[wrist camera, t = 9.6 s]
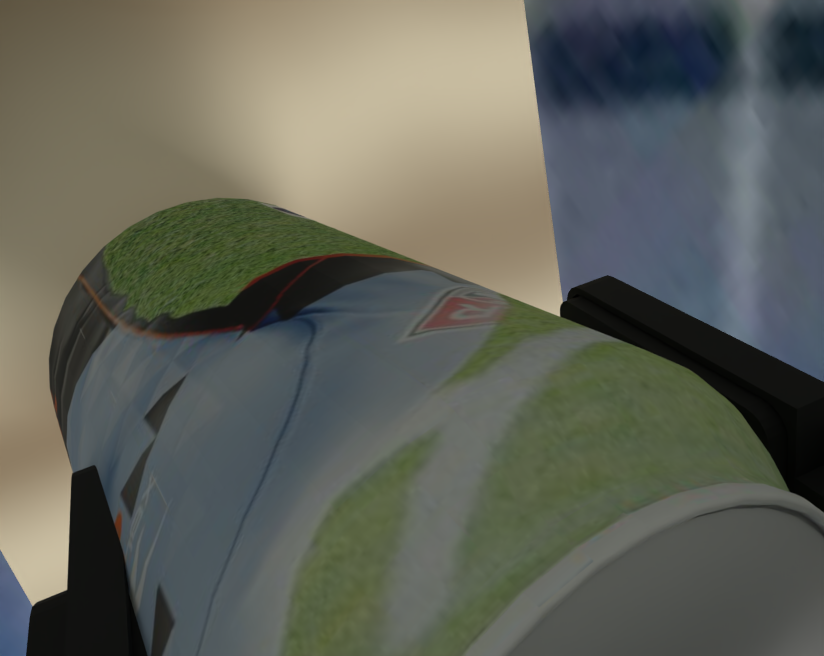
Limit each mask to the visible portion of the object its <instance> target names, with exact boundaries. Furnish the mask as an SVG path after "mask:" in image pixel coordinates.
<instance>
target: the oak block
mask: <svg viewBox="0 0 824 656" xmlns="http://www.w3.org/2000/svg"><path fill="white" fill-rule="evenodd" d="M213 198H235V199H249V200H254V201H259V202H263V203H268V204H272V205H276V206H278V207H281V208H283V209H286V210H288V211H291V212H294V213H296V214H299V215H301V216H304V217H306V218H309V219H311V220H314V221H317V222H319V223H322V224H324V225H327V226H329V227H332V228H335V229H337V230H340V231H342V232H345V233H347V234H350V235H352V236H355V237H358V238H360V239H363V240H365V241H368V242H370V243H373V244H375V245H378V246H381V247H383V248H386V249H388V250H391V251H393V252H396V253H398V254H401V255H404V256H406V257H409V258H411V259H414V260H416V261H419V262H421V263H424V264H427V265H429V266H432V267H434V268H437V269H439V270H442V271H444V272H447V273H450V274H452V275H455V276H457V277H460V278H462V279H465V280H467V281H470V282H473V283H475V284H478V285H480V286H483V287H485V288H488V289H490V290H493V291H496V292H498V293H501V294H503V295H506V296H508V297H511V298H514V299H516V300H519V301H521V302H524V303H526V304H529V305H531V306H534V307H537V308H539V309H542V310H544V311H547V312H549V313H552V314H554V315H557V316H560V306H561V304H562V303H563V301H562V294H561V286H560V278H559V270H558V263H557V255H556V247H555V239H554V232H553V224H552V216H551V208H550V201H549V193H548V185H547V178H546V170H545V162H544V154H543V147H542V139H541V131H540V123H539V116H538V108H537V100H536V92H535V85H534V77H533V69H532V62H531V54H530V46H529V38H528V31H527V23H526V15H525V7H524V0H0V550H1V552H2V553H3V555H4V557H5V558H6V560H7V562H8V564H9V565H10V567H11V569H12V571H13V572H14V574H15V576H16V578H17V579H18V581H19V583H20V585H21V586H22V588H23V590H24V592H25V593H26V595H27V597H28V599H29V600H30V602H31V604H32V606H34V604H35V603H36V602H38V601H41V600H43V599H46V598H48V597H51V596H53V595H56V594H58V593H60V592H63V591H65V590H67V579H68V552H69V525H70V499H71V477H72V473H73V471H72V468H71V465H70V461H69V458H68V454H67V451H66V448H65V444H64V441H63V437H62V434H61V430H60V427H59V424H58V420H57V417H56V413H55V409H54V404H53V400H52V396H51V392H50V384H49V354H50V348H51V342H52V336H53V331H54V326H55V324H56V321H57V319H58V316H59V313H60V311H61V308H62V305H63V303H64V300H65V298H66V296H67V295H68V293H69V291H70V290H71V288H72V286H73V285H74V283H75V282H76V280H77V278H78V277H79V275H80V273H81V272H82V270H83V269H84V268H85V267H86V266H87V265H88V264H89V263H90V261H91V260H92V259H93V258H94V257H95V256H96V255H97V254H98V253H99V251H100V250H101V249H102V248H103V247H104V246H105V245H107V244H108V243H109V242H110V241H112V240H113V239H114V238H116V237H117V236H118V235H119V234H121V233H122V232H123V231H124V230H126V229H127V228H128V227H130V226H132V225H134V224H135V223H137V222H139V221H141V220H143V219H145V218H147V217H149V216H150V215H152V214H154V213H156V212H158V211H162V210H165V209H168V208H171V207H174V206H177V205H180V204H183V203H186V202H192V201H199V200H206V199H213Z"/></svg>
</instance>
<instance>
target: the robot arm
mask: <svg viewBox="0 0 824 656" xmlns="http://www.w3.org/2000/svg"><path fill="white" fill-rule="evenodd" d="M560 317H562V318H565V319H567V320H570V321H572V322H575V323H577V324H580V325H583V326H585V327H588V328H590V329H593V330H595V331H598V332H600V333H603V334H606V335H608V336H611V337H613V338H616V339H618V340H621V341H623V342H626V343H629V344H631V345H634V346H636V347H639V348H641V349H644V350H646V351H649V352H651V353H653V354H656V355H658V356H660V357H662V358H665V359H667V360H669V361H672V362H674V363H676V364H679V365H681V366H683V367H685V368H687V369H689V370H691V371H692V372H694V373H695V374H696V375H698V376H699V377H700V378H701V379H703V380H704V381H705V382H706V383H708V384H709V385H710V386H711V387H713V388H714V389H715V390H716V391H717V392H719V393H720V394H721V395H722V396H724V397H725V398H726V399H727V400H728V401H729V402H731V403H732V404H733V405H734V406H735V407H736V409H737V410H738V411H739V412H740V413H741V414H742V416H743V417H744V419H745V420H746V421H747V423H748V424H749V426H750V427H751V428H752V430H753V431H754V433H755V434H756V435H757V437H758V438H759V440H760V441H761V442H762V444H763V445H764V447H765V448H766V449H767V451H768V452H769V454H770V455H771V457H772V459H773V461H774V463H775V465H776V466H777V468H778V470H779V472H780V474H781V476H782V478H783V480H784V482H785V484H786V486H787V488H788V489H789V491H790V492H791V493H794V494H796V495H799V496H801V497H803V498H804V499H806V500H808V501H809V502H810V503H812V504H813V505H814V506H816V507H817V508H818V509H820V510H821V511H822V512H824V382H822V381H820V380H818V379H816V378H814V377H812V376H810V375H808V374H806V373H804V372H802V371H800V370H798V369H796V368H794V367H792V366H790V365H788V364H786V363H784V362H782V361H780V360H778V359H776V358H774V357H772V356H770V355H768V354H766V353H764V352H762V351H760V350H758V349H756V348H754V347H752V346H750V345H748V344H746V343H744V342H742V341H740V340H738V339H736V338H734V337H732V336H730V335H728V334H726V333H724V332H722V331H720V330H718V329H716V328H714V327H712V326H710V325H708V324H706V323H704V322H702V321H700V320H698V319H696V318H694V317H692V316H690V315H688V314H686V313H684V312H682V311H680V310H678V309H676V308H674V307H672V306H670V305H668V304H666V303H664V302H662V301H660V300H658V299H656V298H654V297H652V296H650V295H648V294H646V293H644V292H642V291H640V290H638V289H636V288H634V287H632V286H630V285H628V284H626V283H624V282H622V281H620V280H618V279H616V278H614V277H611V276H608V275H607V276H604V277H601V278H598V279H596V280H593V281H590V282H588V283H585V284H582V285H580V286H577V287H574V288H571V290H570V291H569V293H568V297H567V301H565V302H563V303H562V304H561V306H560ZM26 656H148V655H147V652H146V649H145V645H144V642H143V639H142V635H141V632H140V629H139V625H138V622H137V619H136V616H135V612H134V609H133V606H132V602H131V599H130V596H129V589H128V582H127V575H126V569H125V562H124V556H123V550H122V546H121V543H120V540H119V537H118V534H117V530H116V527H115V524H114V521H113V518H112V515H111V511H110V508H109V505H108V502H107V499H106V496H105V493H104V489H103V486H102V483H101V480H100V477H99V474H98V470H97V468H96V466H95V465H92V466H90V467H87V468H84V469H82V470H79V471H76V472H74V473H72V477H71V499H70V525H69V552H68V579H67V590H65V591H63V592H60V593H58V594H56V595H53V596H51V597H48V598H46V599H43V600H41V601H38V602H36V603H35V604H34V606H33V607H32V610H31V615H30V622H29V632H28V642H27V652H26Z"/></svg>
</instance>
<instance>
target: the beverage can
mask: <svg viewBox="0 0 824 656" xmlns="http://www.w3.org/2000/svg"><path fill="white" fill-rule="evenodd" d="M49 384H50V392H51V396H52V400H53V404H54V409H55V413H56V417H57V420H58V424H59V427H60V430H61V434H62V437H63V441H64V444H65V448H66V451H67V454H68V458H69V461H70V465H71V468H72V471H73V473H74V472H76V471H79V470H82V469H84V468H87V467H90V466H92V465H95V466H96V468H97V470H98V474H99V477H100V480H101V483H102V486H103V489H104V493H105V496H106V499H107V502H108V505H109V508H110V511H111V515H112V518H113V521H114V524H115V527H116V530H117V534H118V537H119V540H120V543H121V546H122V550H123V556H124V562H125V569H126V575H127V582H128V589H129V596H130V599H131V602H132V606H133V609H134V612H135V616H136V619H137V622H138V625H139V629H140V632H141V635H142V639H143V642H144V645H145V649H146V652H147V655H148V656H824V512H822V511H821V510H820V509H818V508H817V507H816V506H814V505H813V504H812V503H810V502H809V501H808V500H806V499H804V498H803V497H801V496H799V495H796V494H794V493H791V492H790V491H789V489H788V488H787V486H786V484H785V482H784V480H783V478H782V476H781V474H780V472H779V470H778V468H777V466H776V465H775V463H774V461H773V459H772V457H771V455H770V454H769V452H768V451H767V449H766V448H765V447H764V445H763V444H762V442H761V441H760V440H759V438H758V437H757V435H756V434H755V433H754V431H753V430H752V428H751V427H750V426H749V424H748V423H747V421H746V420H745V419H744V417H743V416H742V414H741V413H740V412H739V411H738V410H737V409H736V407H735V406H734V405H733V404H732V403H731V402H729V401H728V400H727V399H726V398H725V397H724V396H722V395H721V394H720V393H719V392H717V391H716V390H715V389H714V388H713V387H711V386H710V385H709V384H708V383H706V382H705V381H704V380H703V379H701V378H700V377H699V376H698V375H696V374H695V373H694V372H692V371H691V370H689V369H687V368H685V367H683V366H681V365H679V364H676V363H674V362H672V361H669V360H667V359H665V358H662V357H660V356H658V355H656V354H653V353H651V352H649V351H646V350H644V349H641V348H639V347H636V346H634V345H631V344H629V343H626V342H623V341H621V340H618V339H616V338H613V337H611V336H608V335H606V334H603V333H600V332H598V331H595V330H593V329H590V328H588V327H585V326H583V325H580V324H577V323H575V322H572V321H570V320H567V319H565V318H562V317H560V316H557V315H554V314H552V313H549V312H547V311H544V310H542V309H539V308H537V307H534V306H531V305H529V304H526V303H524V302H521V301H519V300H516V299H514V298H511V297H508V296H506V295H503V294H501V293H498V292H496V291H493V290H490V289H488V288H485V287H483V286H480V285H478V284H475V283H473V282H470V281H467V280H465V279H462V278H460V277H457V276H455V275H452V274H450V273H447V272H444V271H442V270H439V269H437V268H434V267H432V266H429V265H427V264H424V263H421V262H419V261H416V260H414V259H411V258H409V257H406V256H404V255H401V254H398V253H396V252H393V251H391V250H388V249H386V248H383V247H381V246H378V245H375V244H373V243H370V242H368V241H365V240H363V239H360V238H358V237H355V236H352V235H350V234H347V233H345V232H342V231H340V230H337V229H335V228H332V227H329V226H327V225H324V224H322V223H319V222H317V221H314V220H311V219H309V218H306V217H304V216H301V215H299V214H296V213H294V212H291V211H288V210H286V209H283V208H281V207H278V206H276V205H272V204H268V203H263V202H259V201H254V200H249V199H235V198H213V199H206V200H199V201H192V202H186V203H183V204H180V205H177V206H174V207H171V208H168V209H165V210H162V211H158V212H156V213H154V214H152V215H150V216H149V217H147V218H145V219H143V220H141V221H139V222H137V223H135V224H134V225H132V226H130V227H128V228H127V229H126V230H124V231H123V232H122V233H121V234H119V235H118V236H117V237H116V238H114V239H113V240H112V241H110V242H109V243H108V244H107V245H105V246H104V247H103V248H102V249H101V250H100V251H99V253H98V254H97V255H96V256H95V257H94V258H93V259H92V260H91V261H90V263H89V264H88V265H87V266H86V267H85V268H84V269H83V270H82V272H81V273H80V275H79V277H78V278H77V280H76V282H75V283H74V285H73V286H72V288H71V290H70V291H69V293H68V295H67V296H66V298H65V300H64V303H63V305H62V308H61V311H60V313H59V316H58V319H57V321H56V324H55V326H54V331H53V336H52V342H51V348H50V354H49Z"/></svg>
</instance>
